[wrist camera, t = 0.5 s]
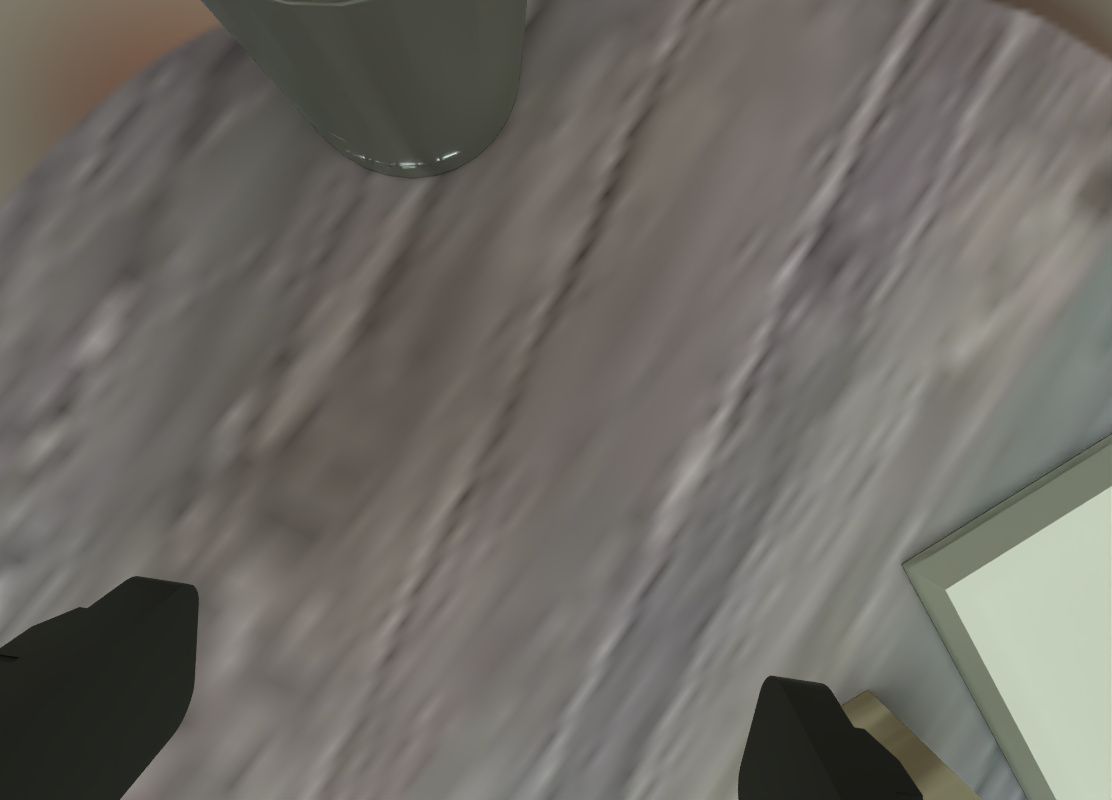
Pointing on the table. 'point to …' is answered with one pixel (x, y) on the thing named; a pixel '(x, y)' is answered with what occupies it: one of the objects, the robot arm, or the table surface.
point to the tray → (1036, 624)
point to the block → (907, 750)
